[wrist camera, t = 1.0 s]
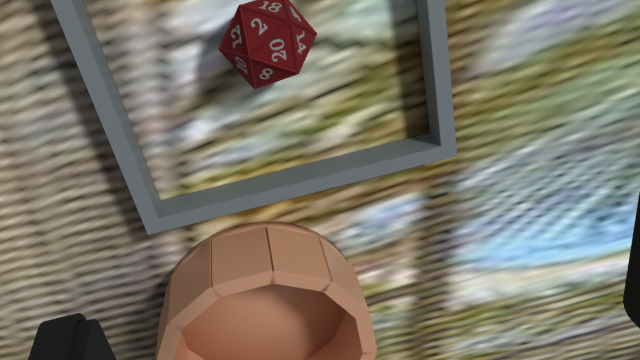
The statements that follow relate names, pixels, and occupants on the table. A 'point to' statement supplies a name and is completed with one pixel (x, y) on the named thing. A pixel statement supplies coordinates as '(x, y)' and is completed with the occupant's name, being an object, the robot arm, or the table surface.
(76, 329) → the robot arm
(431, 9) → the grey flat square frame
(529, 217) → the table surface
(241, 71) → the dice
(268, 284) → the bowl
